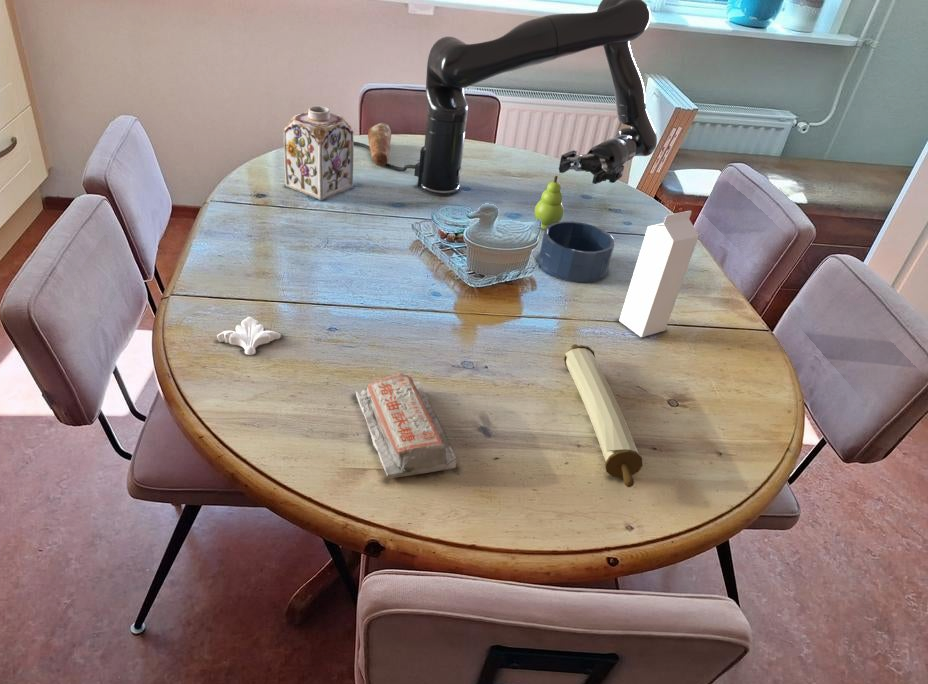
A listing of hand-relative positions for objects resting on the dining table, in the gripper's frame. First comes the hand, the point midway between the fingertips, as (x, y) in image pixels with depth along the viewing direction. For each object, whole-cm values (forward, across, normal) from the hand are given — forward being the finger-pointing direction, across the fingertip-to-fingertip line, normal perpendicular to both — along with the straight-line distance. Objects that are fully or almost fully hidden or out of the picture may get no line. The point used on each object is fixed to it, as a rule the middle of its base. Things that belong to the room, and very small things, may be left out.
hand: (577, 174), depth 160 cm
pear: (+11, 0, +9) cm, 14 cm away
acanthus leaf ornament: (+88, -13, +9) cm, 89 cm away
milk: (+36, +34, +9) cm, 50 cm away
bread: (+6, -53, +9) cm, 54 cm away
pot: (+24, +13, +9) cm, 29 cm away
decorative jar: (+34, -49, +9) cm, 60 cm away
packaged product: (+88, +20, +9) cm, 90 cm away
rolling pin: (+66, +39, +9) cm, 77 cm away
